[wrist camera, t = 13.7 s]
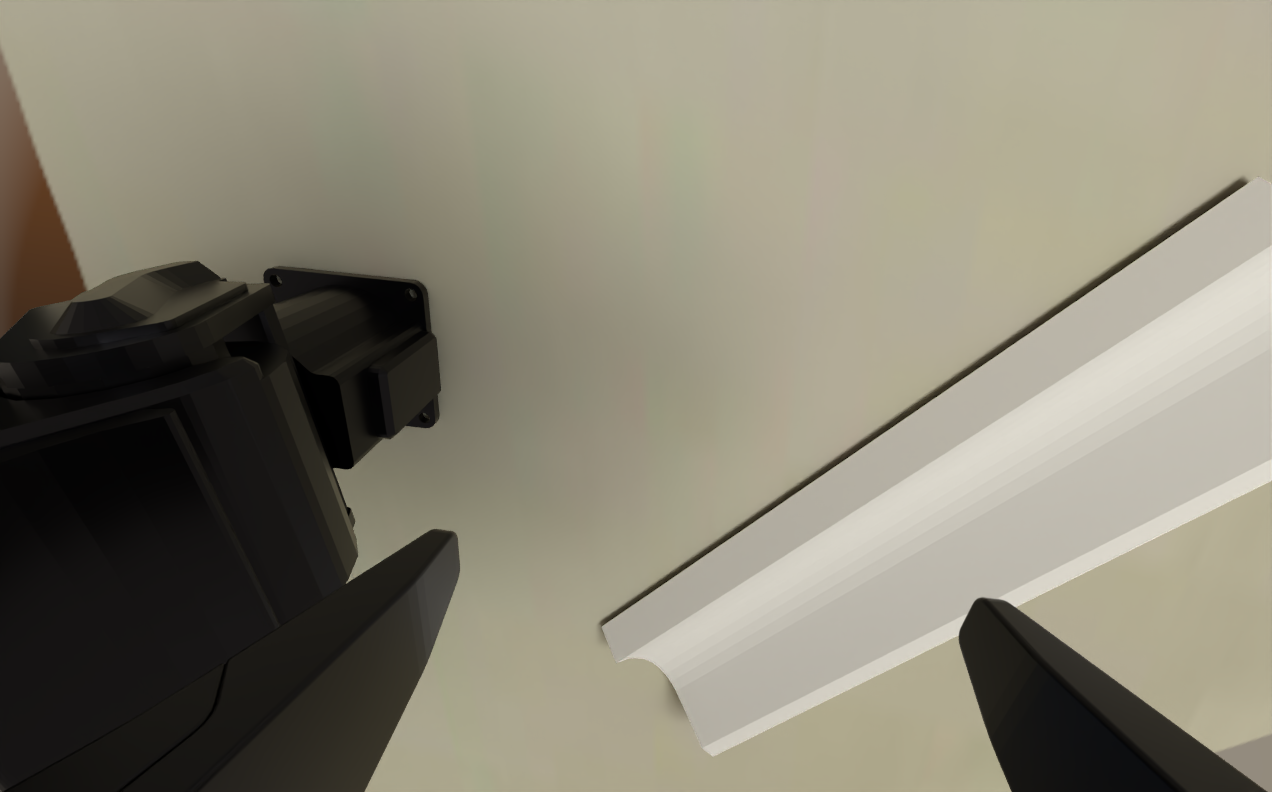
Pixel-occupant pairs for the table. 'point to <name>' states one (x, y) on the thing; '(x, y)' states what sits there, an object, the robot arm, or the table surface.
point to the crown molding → (988, 487)
